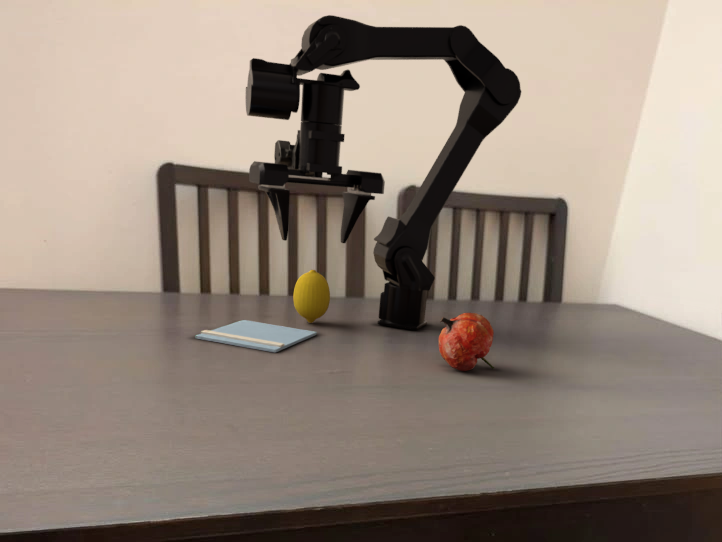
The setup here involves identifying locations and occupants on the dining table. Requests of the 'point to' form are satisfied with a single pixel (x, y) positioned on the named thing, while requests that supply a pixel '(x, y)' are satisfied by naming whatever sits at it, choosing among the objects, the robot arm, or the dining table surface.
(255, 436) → the dining table surface
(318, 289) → the lemon
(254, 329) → the towel
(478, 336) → the pomegranate
